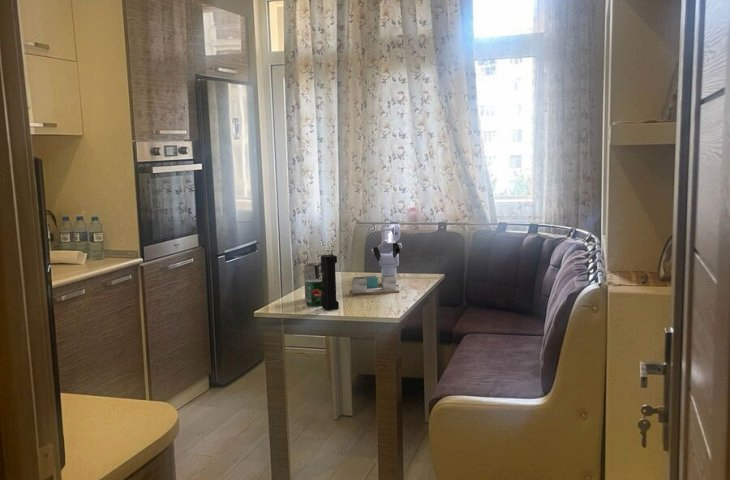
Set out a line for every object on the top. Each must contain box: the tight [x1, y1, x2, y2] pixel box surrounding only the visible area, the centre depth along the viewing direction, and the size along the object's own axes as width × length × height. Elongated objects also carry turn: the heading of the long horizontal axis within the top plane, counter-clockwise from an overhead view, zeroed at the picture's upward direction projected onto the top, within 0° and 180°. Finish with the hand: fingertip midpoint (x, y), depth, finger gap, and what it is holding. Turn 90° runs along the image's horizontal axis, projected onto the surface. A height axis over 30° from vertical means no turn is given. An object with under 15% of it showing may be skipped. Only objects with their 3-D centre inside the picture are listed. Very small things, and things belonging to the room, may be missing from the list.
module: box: [364, 275, 379, 289], centre depth 331 cm, size 4×6×6 cm
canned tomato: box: [304, 279, 322, 308], centre depth 297 cm, size 8×8×11 cm
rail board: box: [349, 275, 400, 297], centre depth 322 cm, size 9×22×8 cm, turn 100°
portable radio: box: [320, 249, 340, 312], centre depth 288 cm, size 8×6×25 cm
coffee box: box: [303, 262, 322, 302], centre depth 310 cm, size 9×6×16 cm
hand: (386, 257), depth 320 cm, fingers open, 7 cm apart
